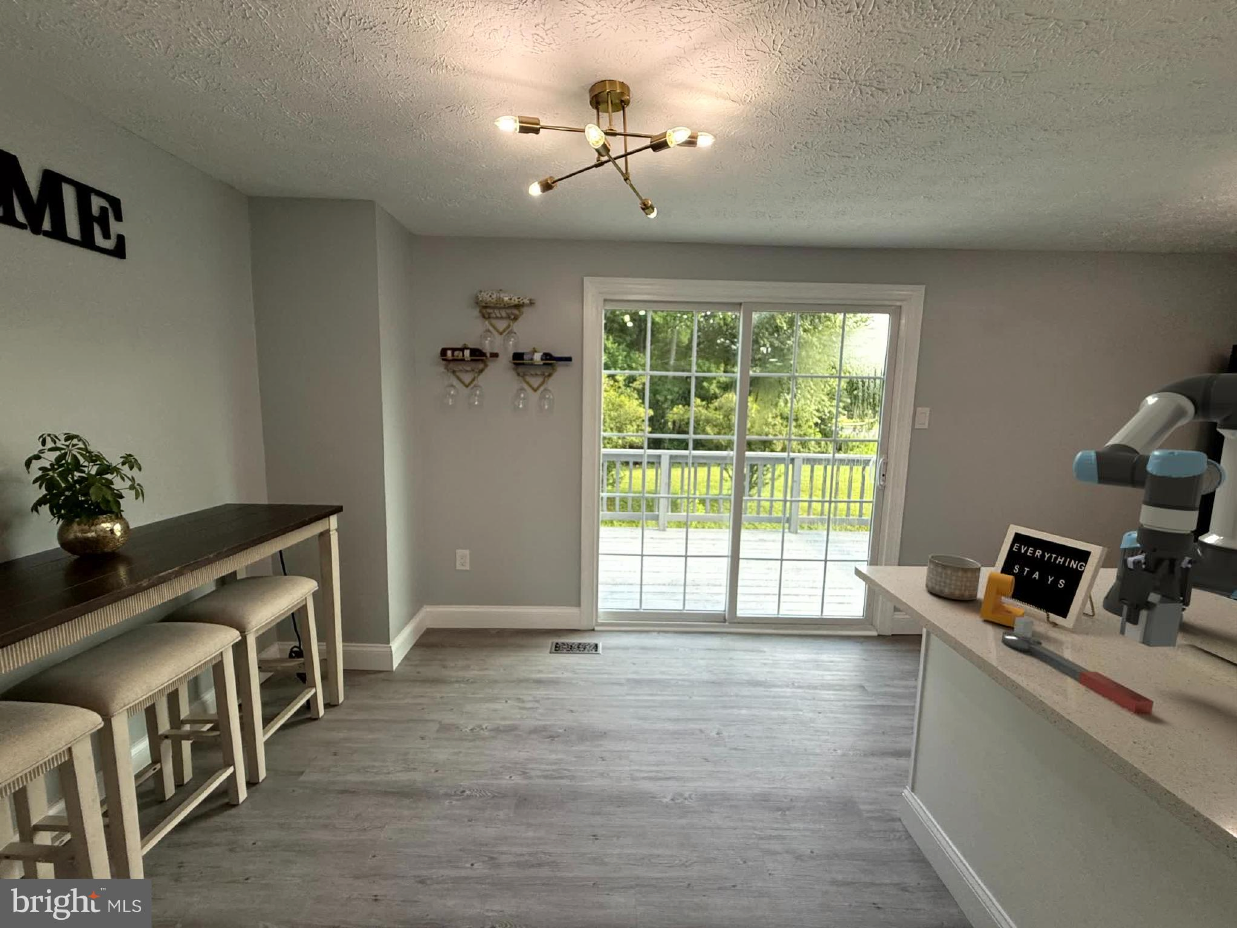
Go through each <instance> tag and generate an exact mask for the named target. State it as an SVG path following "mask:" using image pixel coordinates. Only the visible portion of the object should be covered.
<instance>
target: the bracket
mask: <svg viewBox="0 0 1237 928" xmlns="http://www.w3.org/2000/svg"><path fill="white" fill-rule="evenodd" d="M1015 579H1016V578H1015V575H1014V576H1013V575H1008V574H1005V573H999V572H997V571H989V573H988V577H987V581H986V586H985V590H984V594H983V599H982V603H981V609H980V614H979V618H980V619H984V620H987V621H991V622H994V623H997V624H1000V625H1004V626H1009V627H1011V628H1014V627H1015V620H1016V617H1025V612H1026V610H1025V609H1022V608H1020V607H1015V606H1012V605H1009V604H1004V603H1003V602H1002V601H1003V596H1004V597H1006V598H1007V597H1008V598H1011V597H1012V595H1013V592H1014V588H1015V582H1016V581H1015Z"/></svg>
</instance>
